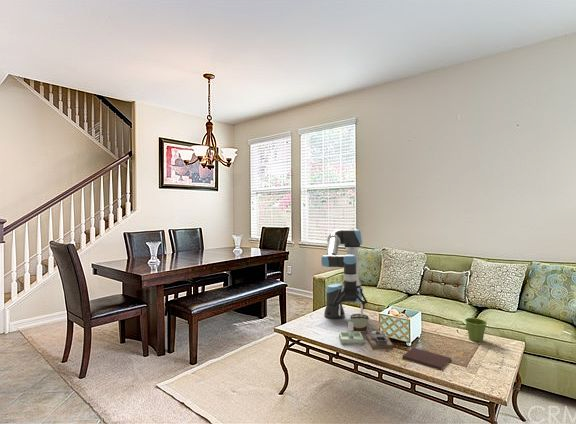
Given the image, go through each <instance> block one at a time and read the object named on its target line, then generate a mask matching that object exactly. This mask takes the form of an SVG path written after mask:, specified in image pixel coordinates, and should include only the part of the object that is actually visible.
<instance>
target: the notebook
mask: <svg viewBox="0 0 576 424" xmlns="http://www.w3.org/2000/svg"><path fill="white" fill-rule="evenodd" d="M401 357H402V359H404V360H407V361H410V362H413V363H416V364H420V365H423V366H426V367H428V368H433V369H436V370H439V371H442V369H444V368H445V366H447V364H449V362H450V361H451V359H452V358H451V357H448V356H445V355H441V354H438V353H434V352H431V351H427V350H424V349H420V348H416V347H412V348H411V349H409V351H407V352H406V353H403V355H402V356H401Z"/></svg>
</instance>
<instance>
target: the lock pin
mask: <svg viewBox="0 0 576 424" xmlns="http://www.w3.org/2000/svg"><path fill="white" fill-rule="evenodd" d="M347 325H348V326H347V327H348V331H347V332H348V336H349V339H354V336H353V322H351V320H350V321H348V323H347Z"/></svg>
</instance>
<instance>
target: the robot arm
mask: <svg viewBox="0 0 576 424" xmlns="http://www.w3.org/2000/svg"><path fill="white" fill-rule="evenodd" d="M326 243H327V246H326V247H327V248H326V252H325V254H323V255H322V256H321V260H320V261H321V266H322V267H325V268H343V280H344V281H343V284H342V283H332V284H329V285H327V286H326V288H325V289H326V291H325V293H326V295H325V296H326V297H325V298H326V305H325V308H324V313H323V316H324V317H325V318H327V319H334V320H335V319H336V320H339V319H343V318H344V317H345V315H346V313H345V310H344V307H343V303H353V304H359V303H360V314H361V315H363V314H364V310H366V308H365V307H366V304H368V302H369V301H368V300H367V298H366V296H365V295H364V292H363V290H364V289H363V288H364V286H362V284H361V283H360V281H359V274H360V273H359V249H360V248H361V246H362V245H363V240H362V233H361V230H360V229H359V228H358V229H355V228H344V229H343V228H339V229H336V230H334V231H332V232H331V233H330V234H329V235H328V237H327V241H326ZM340 245H341V246H342V245H343V246H344V248H345V249H346V254H345V255H344V254H343V255H338V251H339V246H340Z"/></svg>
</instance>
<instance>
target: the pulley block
mask: <svg viewBox="0 0 576 424" xmlns="http://www.w3.org/2000/svg"><path fill="white" fill-rule="evenodd" d="M382 332H383V331H379V330H374V331H371V332H370V334H368V333H366V335H365V338H366V340H367V341H368V344H369V346H370V348H371V349H375V348H376V349H377V348H391V349H394V344H393V343H392V342H391V339H390V338H389V336H387V337H385V334H386V333H385V332H383V333H382ZM377 350H378V349H377Z"/></svg>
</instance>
